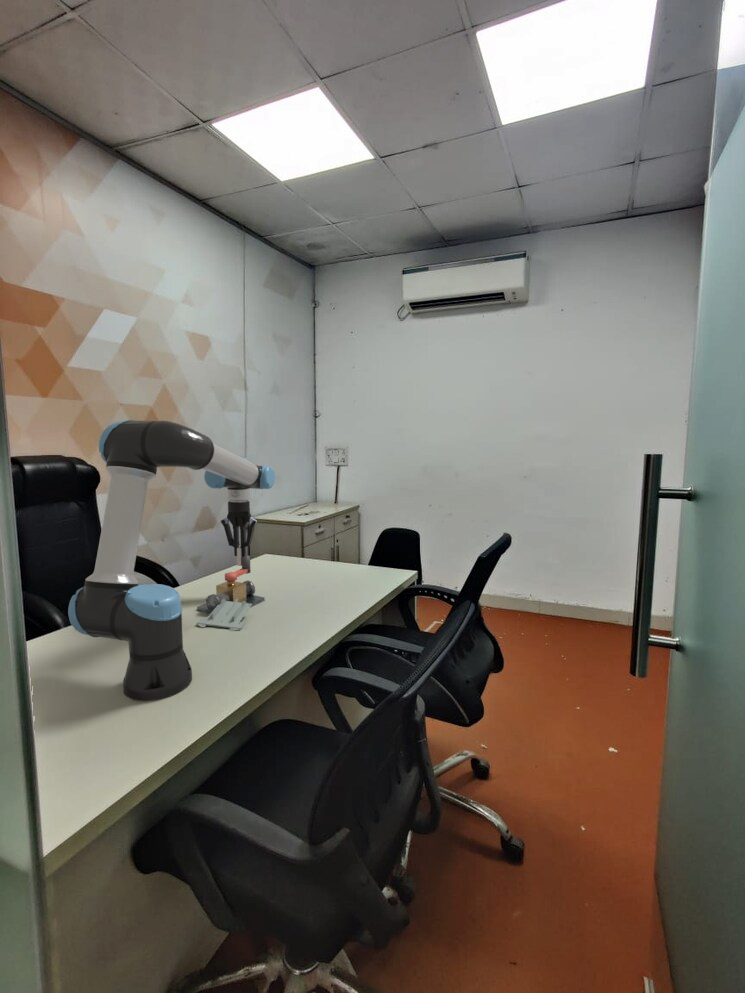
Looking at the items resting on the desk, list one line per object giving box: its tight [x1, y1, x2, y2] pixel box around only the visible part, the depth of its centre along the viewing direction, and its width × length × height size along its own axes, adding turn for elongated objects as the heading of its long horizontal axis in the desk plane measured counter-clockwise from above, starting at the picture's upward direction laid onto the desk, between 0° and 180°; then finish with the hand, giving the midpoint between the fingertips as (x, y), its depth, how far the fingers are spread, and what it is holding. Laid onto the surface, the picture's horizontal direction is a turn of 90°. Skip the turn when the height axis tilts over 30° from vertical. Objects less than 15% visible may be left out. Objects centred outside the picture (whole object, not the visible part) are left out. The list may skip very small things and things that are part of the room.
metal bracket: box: [196, 599, 252, 632], centre depth 154 cm, size 14×6×15 cm
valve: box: [196, 580, 266, 614], centre depth 167 cm, size 18×14×9 cm
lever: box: [224, 554, 251, 582], centre depth 170 cm, size 12×4×6 cm, turn 160°
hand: (240, 564), depth 175 cm, fingers closed
